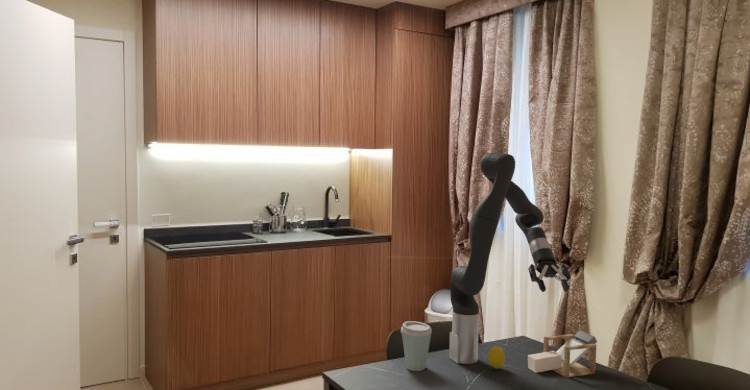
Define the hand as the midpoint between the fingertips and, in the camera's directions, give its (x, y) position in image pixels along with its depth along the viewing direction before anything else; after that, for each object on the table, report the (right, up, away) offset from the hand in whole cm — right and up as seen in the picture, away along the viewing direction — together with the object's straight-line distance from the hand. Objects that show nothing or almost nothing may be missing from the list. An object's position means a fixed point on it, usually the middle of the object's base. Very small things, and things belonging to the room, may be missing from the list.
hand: (555, 290), depth 188 cm
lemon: (-22, -26, -6) cm, 35 cm away
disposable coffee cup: (-50, -25, -6) cm, 56 cm away
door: (+6, -20, -4) cm, 21 cm away
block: (-1, -23, -4) cm, 23 cm away
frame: (+3, -26, -5) cm, 27 cm away
